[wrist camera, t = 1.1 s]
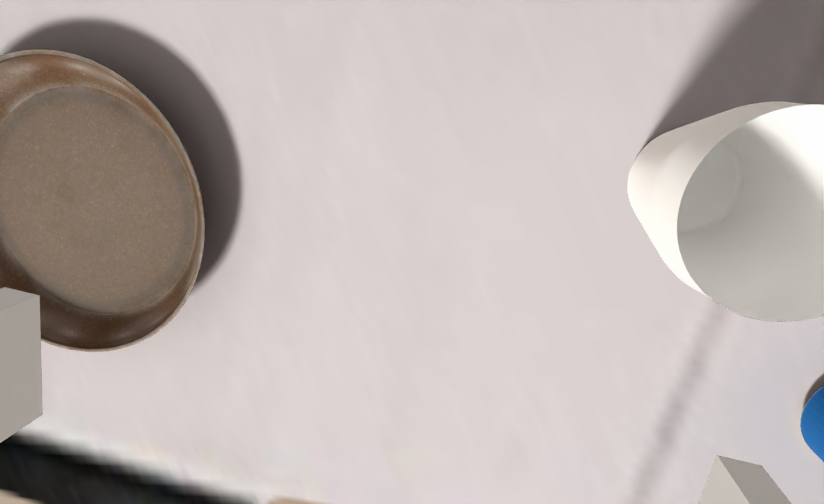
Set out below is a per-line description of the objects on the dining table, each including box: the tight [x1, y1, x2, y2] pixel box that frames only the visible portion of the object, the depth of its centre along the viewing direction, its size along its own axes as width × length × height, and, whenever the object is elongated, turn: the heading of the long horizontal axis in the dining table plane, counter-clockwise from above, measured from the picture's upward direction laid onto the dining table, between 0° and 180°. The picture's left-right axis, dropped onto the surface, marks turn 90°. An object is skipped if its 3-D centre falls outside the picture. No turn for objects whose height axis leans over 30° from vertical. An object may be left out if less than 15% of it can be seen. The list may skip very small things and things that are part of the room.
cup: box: [628, 102, 824, 322], centre depth 26 cm, size 9×9×12 cm
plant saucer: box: [0, 49, 205, 352], centre depth 37 cm, size 21×21×3 cm
